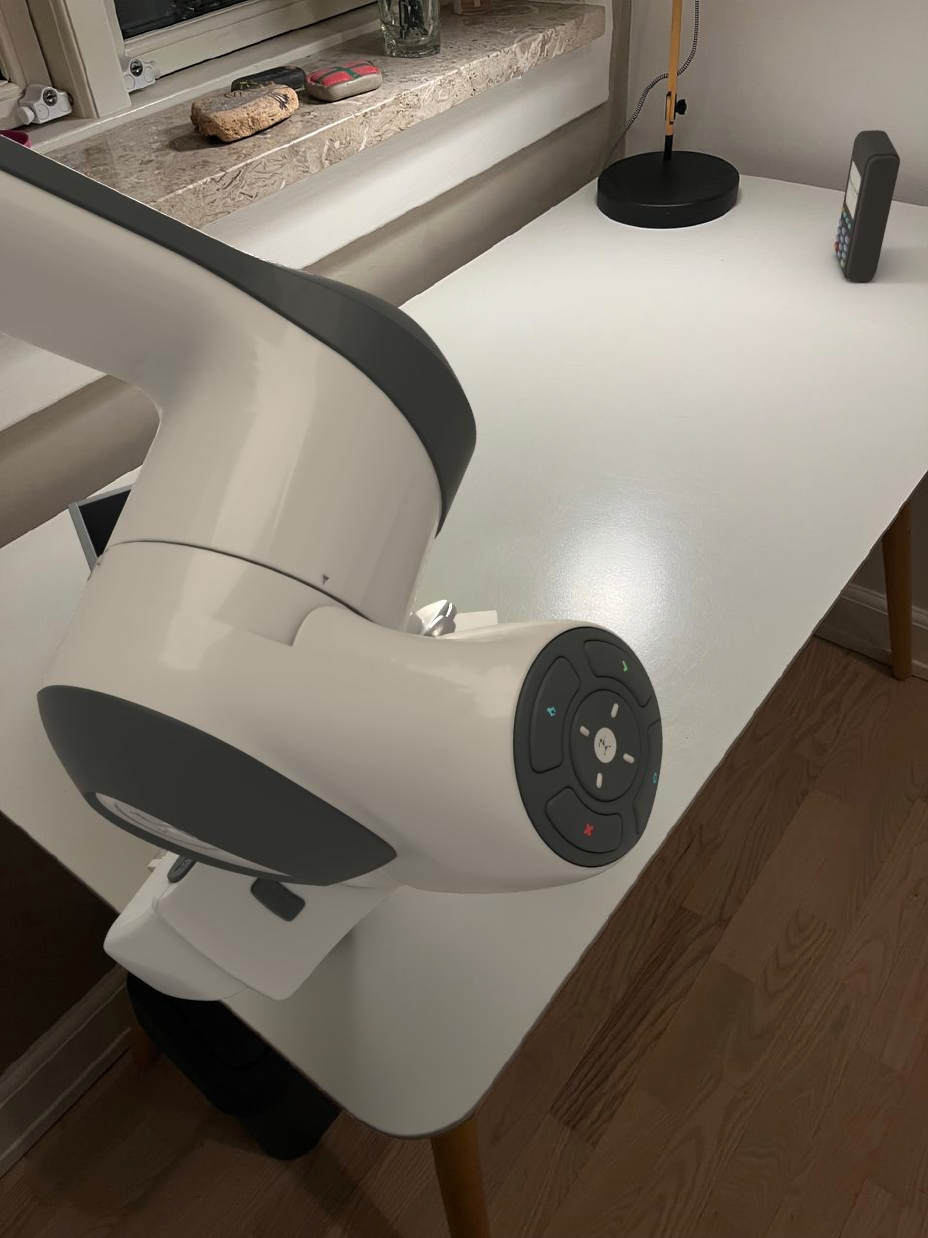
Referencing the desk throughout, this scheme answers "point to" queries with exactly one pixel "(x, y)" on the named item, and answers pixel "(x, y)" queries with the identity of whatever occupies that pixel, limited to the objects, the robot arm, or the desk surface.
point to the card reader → (866, 204)
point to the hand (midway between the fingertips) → (224, 789)
